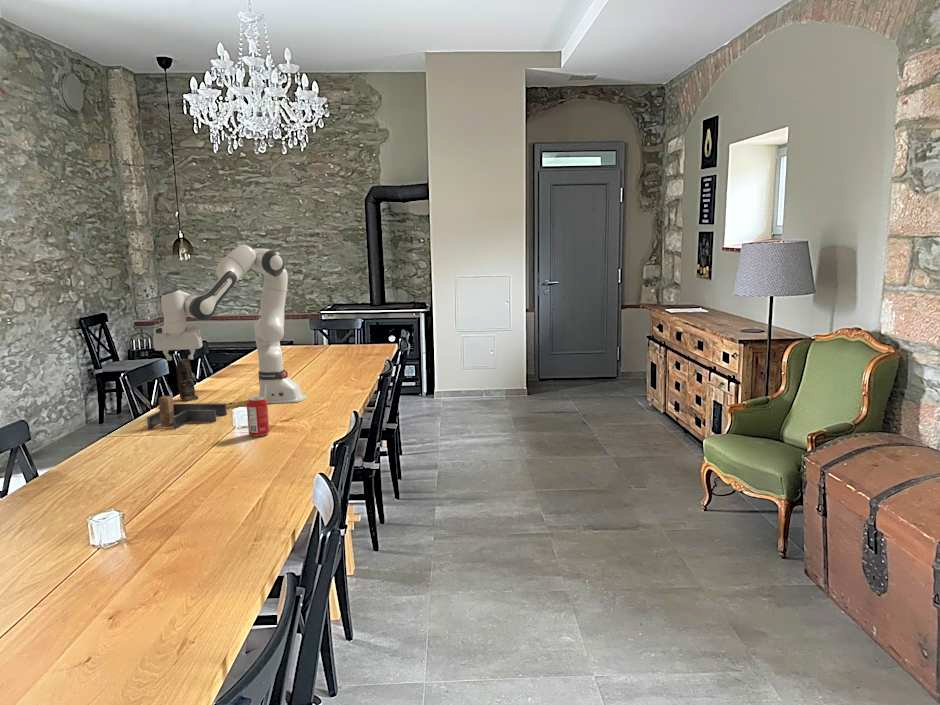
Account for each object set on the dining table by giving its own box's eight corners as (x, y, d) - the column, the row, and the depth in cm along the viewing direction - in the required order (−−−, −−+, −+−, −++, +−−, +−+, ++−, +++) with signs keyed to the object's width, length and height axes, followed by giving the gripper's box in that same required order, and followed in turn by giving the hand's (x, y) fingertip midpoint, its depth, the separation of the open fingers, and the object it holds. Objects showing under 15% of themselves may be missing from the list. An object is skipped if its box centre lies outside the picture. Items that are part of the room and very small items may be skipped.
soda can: (248, 438, 284) (246, 401, 281) (249, 433, 291) (246, 396, 289) (269, 436, 286) (267, 399, 283) (269, 431, 293) (267, 395, 291)
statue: (186, 401, 347) (182, 360, 343) (177, 399, 351) (174, 359, 348) (199, 399, 352) (195, 358, 349) (190, 397, 356) (187, 357, 353)
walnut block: (174, 423, 306) (172, 396, 304) (170, 426, 302) (167, 398, 300) (165, 423, 307) (163, 396, 304) (161, 426, 303) (158, 398, 301)
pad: (181, 423, 308) (181, 422, 308) (172, 428, 300) (172, 427, 300) (163, 423, 309) (163, 422, 309) (153, 428, 301) (153, 427, 301)
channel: (226, 414, 321) (225, 403, 320) (204, 429, 298) (203, 417, 297) (174, 414, 323) (173, 403, 322) (147, 429, 300) (146, 417, 299)
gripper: (202, 325, 310) (206, 357, 313) (156, 327, 312) (160, 359, 314) (196, 328, 304) (200, 360, 307) (149, 330, 305) (153, 362, 308)
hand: (180, 359), depth 311 cm, fingers open, 8 cm apart
